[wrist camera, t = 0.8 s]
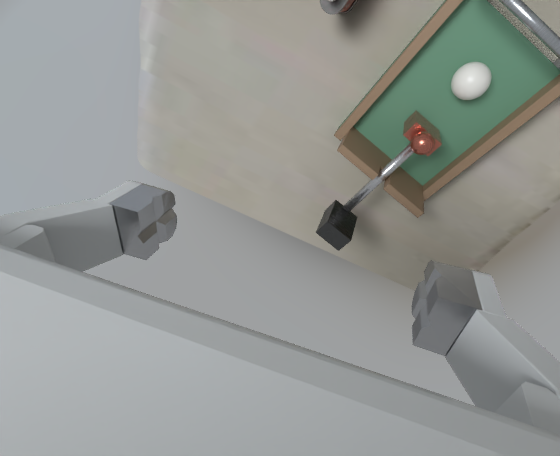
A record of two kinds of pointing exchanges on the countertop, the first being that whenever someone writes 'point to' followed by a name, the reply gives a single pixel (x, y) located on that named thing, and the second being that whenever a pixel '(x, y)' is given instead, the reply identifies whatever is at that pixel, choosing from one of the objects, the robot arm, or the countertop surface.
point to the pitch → (448, 99)
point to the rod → (378, 181)
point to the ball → (471, 80)
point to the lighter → (337, 6)
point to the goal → (535, 26)
